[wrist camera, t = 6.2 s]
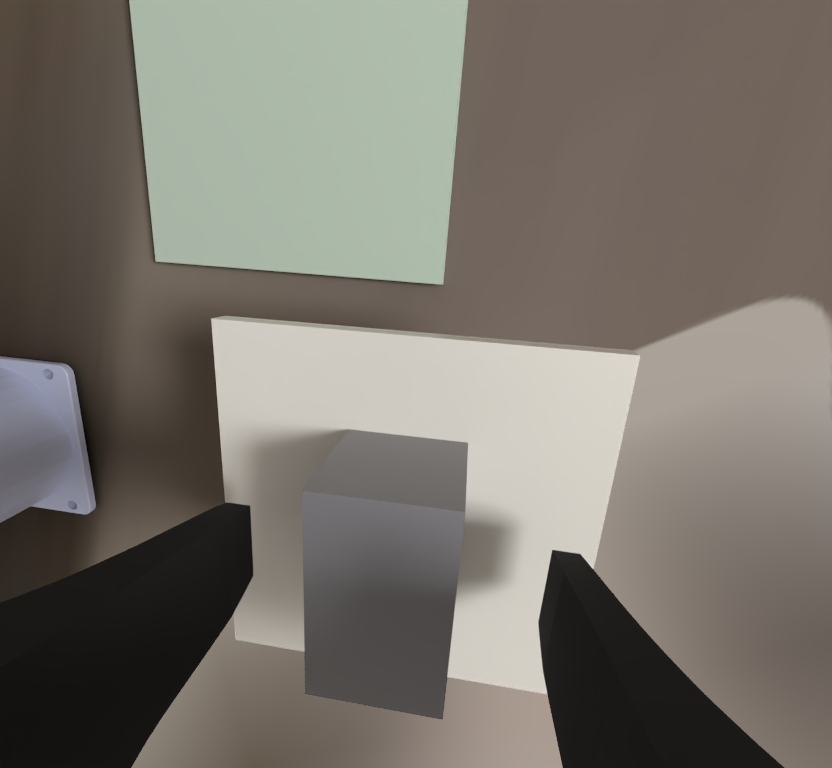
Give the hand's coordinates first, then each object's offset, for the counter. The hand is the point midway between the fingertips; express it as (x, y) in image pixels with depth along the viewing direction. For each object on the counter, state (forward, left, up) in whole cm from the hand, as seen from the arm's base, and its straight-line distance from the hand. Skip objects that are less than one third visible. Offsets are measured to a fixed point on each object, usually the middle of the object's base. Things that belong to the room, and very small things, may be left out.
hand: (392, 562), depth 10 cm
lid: (0, 0, -2) cm, 2 cm away
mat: (-6, +12, -9) cm, 16 cm away
